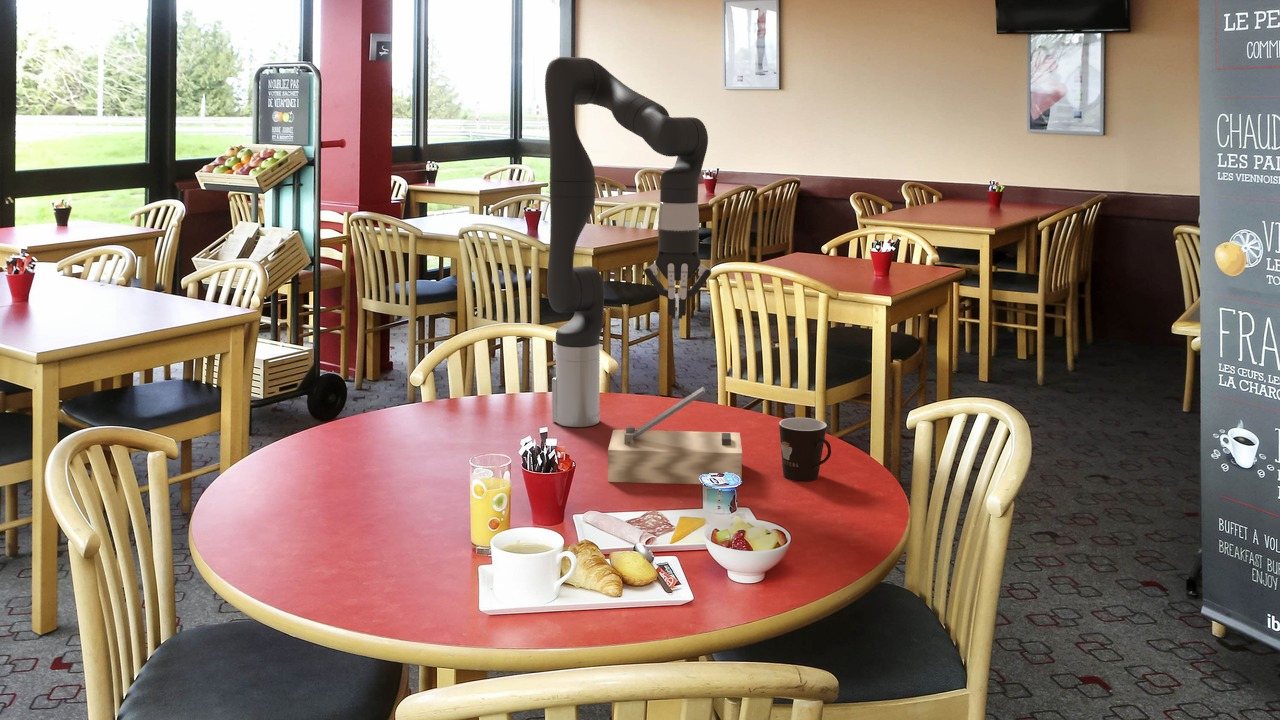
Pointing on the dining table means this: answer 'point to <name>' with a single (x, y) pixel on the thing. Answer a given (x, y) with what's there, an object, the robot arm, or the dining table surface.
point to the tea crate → (672, 456)
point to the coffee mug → (802, 448)
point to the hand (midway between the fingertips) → (677, 317)
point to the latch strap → (669, 412)
